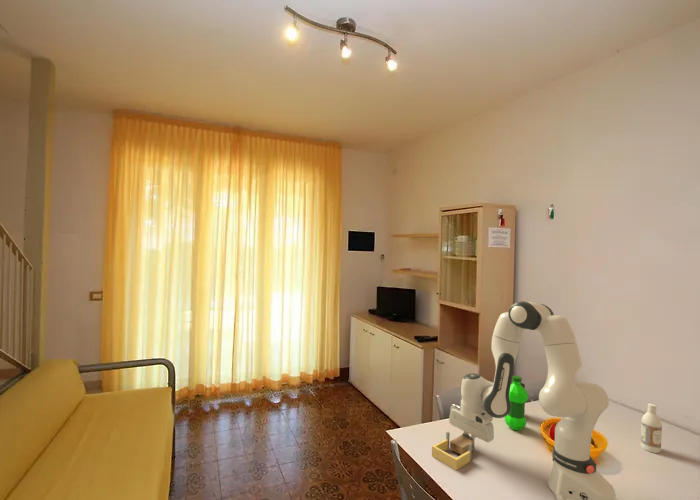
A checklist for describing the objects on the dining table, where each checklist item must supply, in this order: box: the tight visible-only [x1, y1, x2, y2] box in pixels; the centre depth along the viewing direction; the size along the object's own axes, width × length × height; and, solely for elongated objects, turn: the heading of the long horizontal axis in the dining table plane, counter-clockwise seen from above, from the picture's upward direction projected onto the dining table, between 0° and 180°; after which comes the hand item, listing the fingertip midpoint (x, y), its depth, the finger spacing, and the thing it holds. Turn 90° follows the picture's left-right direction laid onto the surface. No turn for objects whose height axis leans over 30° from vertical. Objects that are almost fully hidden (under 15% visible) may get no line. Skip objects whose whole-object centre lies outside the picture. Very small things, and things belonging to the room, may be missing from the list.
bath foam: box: [640, 402, 663, 454], centre depth 158 cm, size 7×7×20 cm
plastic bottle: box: [504, 375, 529, 431], centre depth 174 cm, size 10×10×25 cm
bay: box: [431, 431, 473, 471], centre depth 147 cm, size 12×11×7 cm
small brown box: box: [449, 432, 475, 456], centre depth 152 cm, size 6×9×5 cm, turn 128°
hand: (469, 442), depth 156 cm, fingers closed, pressing on small brown box
